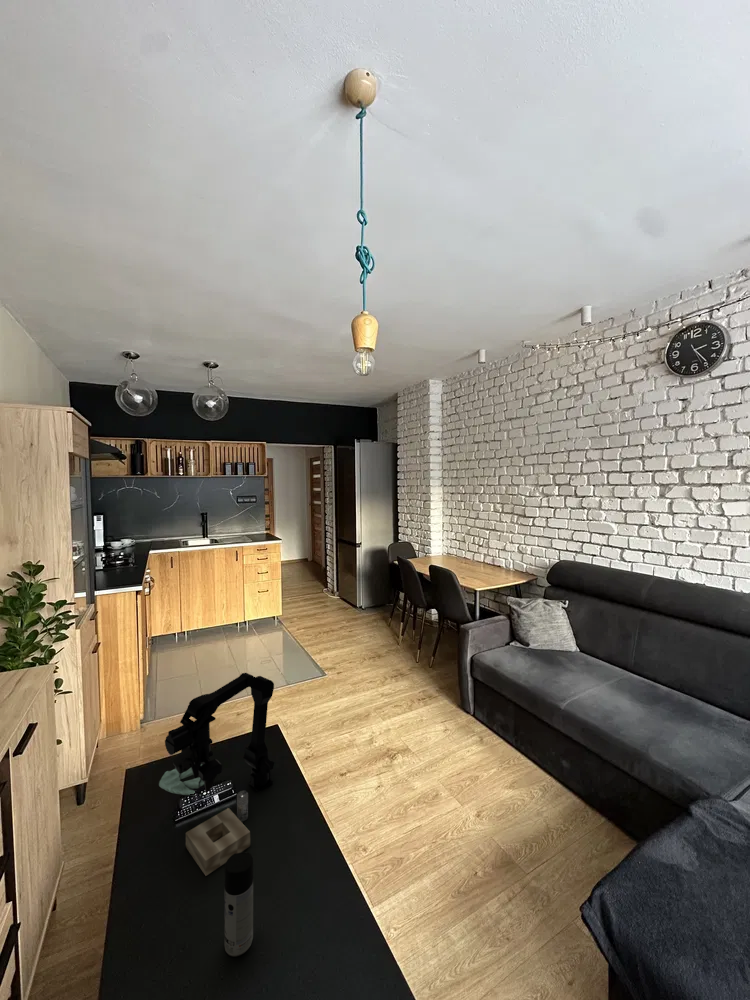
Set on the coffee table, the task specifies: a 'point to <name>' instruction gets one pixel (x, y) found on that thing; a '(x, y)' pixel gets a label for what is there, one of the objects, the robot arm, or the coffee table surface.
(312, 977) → the coffee table surface
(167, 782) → the cloth
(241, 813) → the peg
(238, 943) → the spray can
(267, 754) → the robot arm
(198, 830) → the socket board
